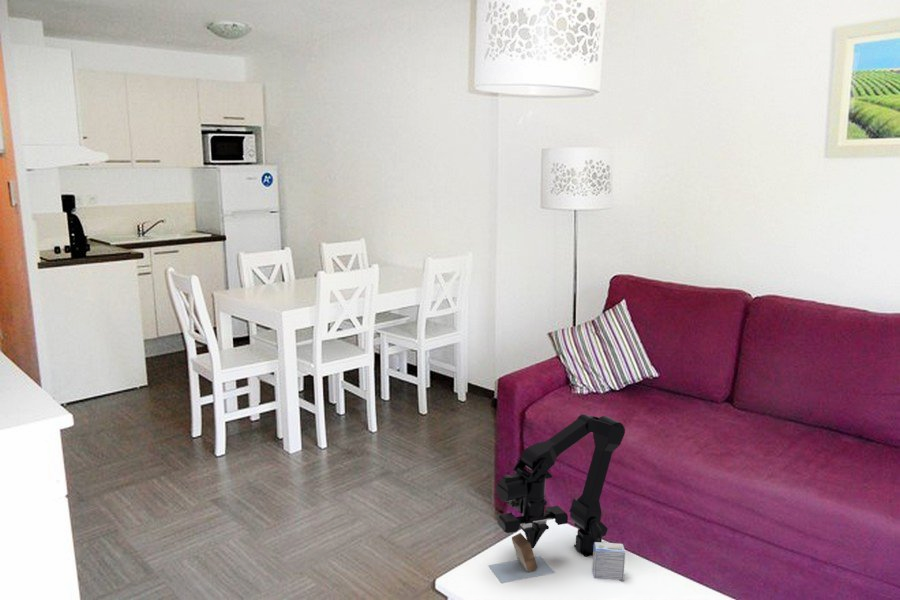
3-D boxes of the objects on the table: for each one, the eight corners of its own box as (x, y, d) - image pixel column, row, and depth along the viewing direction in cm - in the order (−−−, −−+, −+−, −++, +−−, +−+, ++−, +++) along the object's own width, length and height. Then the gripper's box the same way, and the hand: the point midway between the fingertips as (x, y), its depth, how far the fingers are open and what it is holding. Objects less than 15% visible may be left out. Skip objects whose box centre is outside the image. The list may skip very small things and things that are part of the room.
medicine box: (621, 572, 189) (623, 543, 188) (623, 582, 185) (625, 551, 183) (591, 570, 190) (593, 541, 189) (593, 579, 186) (595, 549, 184)
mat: (540, 557, 196) (540, 555, 196) (555, 573, 188) (555, 572, 188) (487, 566, 191) (487, 565, 191) (501, 584, 183) (501, 583, 182)
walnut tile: (527, 556, 194) (520, 532, 192) (537, 567, 188) (530, 543, 186) (518, 561, 193) (511, 537, 191) (528, 573, 188) (520, 548, 185)
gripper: (550, 478, 198) (547, 529, 201) (490, 486, 192) (488, 538, 194) (570, 494, 188) (567, 548, 190) (507, 504, 181) (504, 559, 184)
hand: (531, 547), depth 190 cm, fingers closed
